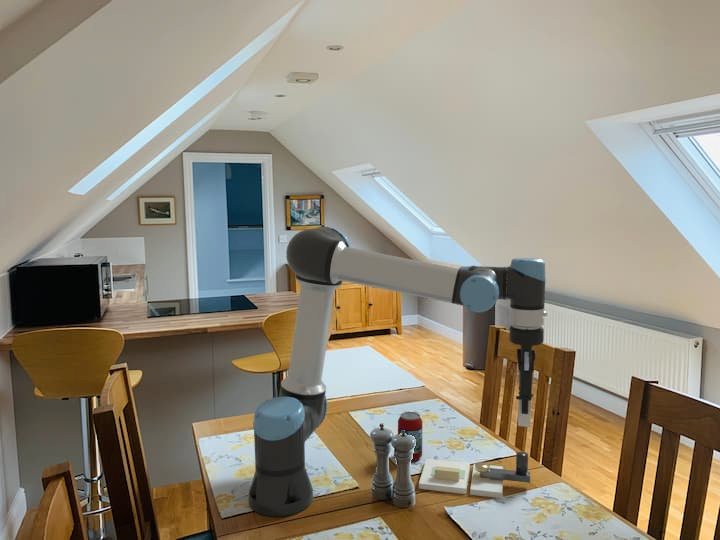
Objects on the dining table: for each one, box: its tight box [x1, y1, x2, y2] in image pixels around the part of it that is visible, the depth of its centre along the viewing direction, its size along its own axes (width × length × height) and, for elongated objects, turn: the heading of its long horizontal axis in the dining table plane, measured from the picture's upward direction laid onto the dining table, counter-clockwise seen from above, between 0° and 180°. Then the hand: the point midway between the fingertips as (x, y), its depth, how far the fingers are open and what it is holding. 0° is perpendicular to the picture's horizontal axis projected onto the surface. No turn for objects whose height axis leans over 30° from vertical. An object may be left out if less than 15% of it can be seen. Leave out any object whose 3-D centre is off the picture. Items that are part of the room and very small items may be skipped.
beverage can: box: [397, 411, 423, 462], centre depth 159 cm, size 7×7×12 cm
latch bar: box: [474, 451, 531, 484], centre depth 143 cm, size 13×4×7 cm, turn 76°
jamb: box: [470, 463, 504, 499], centre depth 145 cm, size 14×8×2 cm, turn 166°
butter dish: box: [418, 458, 471, 495], centre depth 147 cm, size 14×12×4 cm
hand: (524, 425), depth 134 cm, fingers closed
